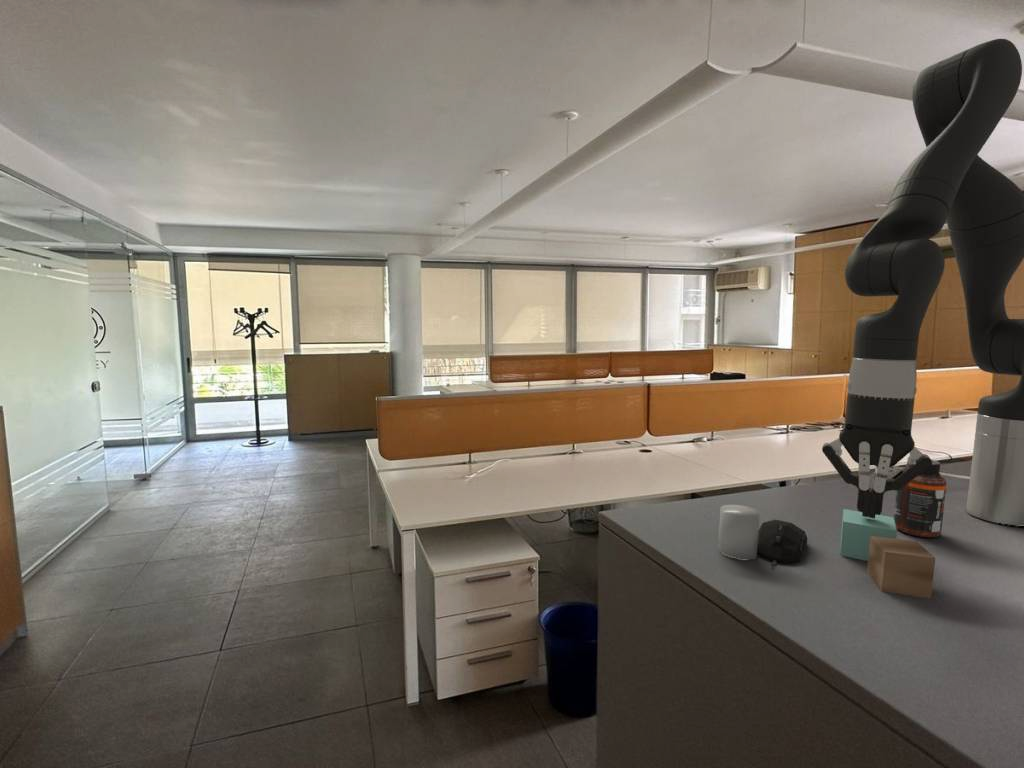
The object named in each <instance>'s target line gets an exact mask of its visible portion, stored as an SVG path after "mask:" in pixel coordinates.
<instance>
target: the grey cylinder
mask: <svg viewBox="0 0 1024 768" xmlns="http://www.w3.org/2000/svg"><path fill="white" fill-rule="evenodd" d="M719 509H720V512H719V529H718V542H717V544H718V545H717V549H718V548H719V550H720V551H721V552H723V553H724V554H727V555H729V556H732V557H736V558H740V559H753V560H756V559H757V557H758V555H757V549H758V534H759V529H760V516H761V512H760V511H759V510H757V509H756V508H753V507H751V506H746V505H742V504H741V505H740V504H724V505H721V506H720V507H719Z"/></svg>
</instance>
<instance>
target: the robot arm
mask: <svg viewBox="0 0 1024 768" xmlns="http://www.w3.org/2000/svg"><path fill="white" fill-rule="evenodd" d="M1022 63H1023V62H1022V58H1021V55H1020V52H1019V50H1018V48H1017V47H1016V45H1015V44H1014V43H1013V42H1012V41H1011V40H1009V39H1006V38H996V39H992V40H989V41H985V42H983V43H979V44H977V45H975V46H972V47H970V48H969V49H965V50H963V51H961V52H959V53H956V54H954V55H951V56H949V57H948V58H945V59H943V60H941V61H937V62H936V63H934V64H930V65H929V66H926V68H923V69H922V70H920V72H919V73H918V74H917V75H916V77H915V78H914V82H913V86H912V93H911V94H912V95H911V97H912V105H913V111H914V115H915V118H916V121H917V124H918V128H919V130H920V133H921V137H922V139H923V142H924V145H925V147H926V148H924V149H923V150H922V151H921V152H920V153H919V155H917V156H916V157H915V158H914V159H913V160H912V161H911V163H910V164H909V165H908V166H907V168H906V169H905V170H904V171H903V173H902V174H901V176H900V177H899V179H898V181H897V182H896V185H895V187H894V189H893V191H892V193H891V195H890V197H889V201H888V203H887V205H886V207H885V210H884V212H883V213H882V215H881V217H879V218H878V220H877V221H875V223H874V224H873V225H872V226H871V228H870V229H869V230H868V231H867V232H866V234H865V235H864V236H863V237H862V238H861V239H860V241H858V243H857V244H856V246H855V247H854V249H853V250H852V251H851V253H850V255H849V257H848V259H847V262H846V265H845V271H844V278H845V279H844V280H845V282H846V283H845V284H846V286H847V288H848V290H849V291H851V292H852V293H853V294H855V295H857V296H860V297H870V298H871V297H890V296H891V297H892V296H895V297H896V296H897V298H896V299H895V301H894V302H893V304H892V306H891V307H890V308H889V309H888V310H885V311H882V312H879V313H878V312H877V313H873V314H868V315H865V316H862V317H860V318H859V320H857V323H856V324H855V325H856V326H855V331H854V340H853V341H854V342H853V350H852V351H853V352H852V353H853V354H852V361H851V366H850V368H849V369H850V370H849V373H848V382H847V385H846V386H847V387H846V388H847V396H846V403H845V405H846V406H845V413H844V414H845V415H844V424H843V425H844V426H843V428H842V430H841V431H840V432H839V435H838V438H837V439H835V440H833V441H831V442H825V443H823V445H822V446H821V450H822V453H823V455H825V458H826V459H827V460H829V461H828V462H829V463H831V466H832V467H834V469H835V470H836V472H837V473H838V474H839V476H840V477H841V478H842V480H843V482H845V483H846V484H848V485H853V486H854V487H856V488H857V490H858V491H857V500H856V508H857V511H858V512H862V516H863V517H868V516H869V518H874V519H875V514H876V515H881V514H882V512H883V503H884V502H883V501H884V494H885V493H886V492H890V491H896V492H897V491H898V490H900V489H901V488H902V487H904V486H905V485H906V484H908V483H909V482H910V481H911V480H913V479H914V478H915V477H917V476H918V475H919V474H920V473H922V472H923V471H924V470H926V469H927V468H928V467H929V466H931V465H932V460H933V459H931V458H930V456H929V455H928V454H925V453H923V452H922V451H920V450H919V449H918V448H916V447H915V440H914V438H913V436H912V427H913V420H914V419H913V418H914V409H915V408H914V406H915V399H916V394H917V392H918V391H917V390H918V389H917V381H918V378H917V357H918V348H919V347H918V346H919V339H920V338H919V337H920V331H921V327H922V325H923V321H924V319H925V317H926V313H927V311H928V308H929V306H930V304H931V301H932V299H933V297H934V295H935V293H936V291H937V289H938V287H939V284H940V282H941V280H942V277H943V274H944V270H945V255H944V251H943V249H942V248H941V246H940V245H939V244H938V243H937V242H935V241H934V240H932V238H934V237H935V236H937V235H938V234H939V233H940V232H941V230H942V229H943V227H944V226H945V224H946V225H947V230H948V233H949V239H950V243H951V246H952V249H953V250H952V251H953V253H954V257H955V260H956V264H957V267H958V272H959V277H960V280H961V285H962V289H963V295H964V303H965V309H966V320H967V329H968V337H969V345H970V352H971V355H972V359H973V361H974V363H975V365H976V366H977V367H978V368H979V370H981V371H983V372H986V373H990V374H995V375H1007V376H1008V375H1010V376H1020V379H1019V383H1017V386H1016V387H1014V388H1012V389H1011V390H1008V391H1005V392H1002V393H1001V392H1000V393H996V394H991V395H985V396H982V397H981V398H980V399H979V401H978V405H977V416H976V425H975V433H974V442H973V448H972V450H973V451H972V459H971V468H970V475H969V477H970V478H969V484H968V493H967V499H966V500H967V501H966V509H965V511H966V513H968V514H969V515H971V516H973V517H975V518H978V519H982V520H985V521H987V522H991V523H995V524H999V523H1001V524H1000V525H1005V524H1009V525H1008V526H1010V525H1024V318H1010V317H1009V316H1008V314H1007V310H1006V306H1005V294H1006V293H1005V292H1006V290H1007V287H1008V285H1009V283H1010V281H1011V280H1012V277H1013V276H1014V274H1015V273H1016V271H1017V270H1018V268H1019V266H1021V263H1022V261H1024V192H1023V190H1022V189H1021V188H1020V187H1019V186H1018V185H1017V184H1016V183H1014V182H1013V181H1012V180H1011V179H1010V178H1009V177H1007V176H1006V175H1005V174H1003V173H1002V172H1001V171H999V170H998V169H996V168H995V167H993V166H992V165H990V164H989V163H988V162H987V161H986V160H984V159H983V158H982V157H981V156H980V155H979V153H980V152H981V150H982V149H983V147H984V145H986V142H988V140H989V139H990V137H991V135H992V134H993V132H994V131H995V129H996V127H997V126H998V125H999V123H1000V121H1001V120H1002V118H1003V117H1004V115H1005V114H1006V112H1007V111H1008V109H1009V107H1010V106H1011V104H1012V102H1013V101H1014V99H1015V97H1016V96H1017V92H1018V90H1019V88H1020V86H1021V80H1022V75H1023V64H1022ZM842 446H843V448H844V449H845V451H846V452H847V453H848V454H849V456H850V458H851V459H852V460H853V461H854V462H855V463H856V464H858V466H857V467H858V474H856V473H853V471H852V470H851V469H850V468H849V466H848V465H847V463H846V462H845V460H844V459H843V457H841V456H842V455H843V450H842ZM907 455H909V456H908V457H907V460H906V461H908V463H909V464H908V465H907V464H906V465H907V466H904V467H903V468H902V469H900V470H899V471H898V472H897V473H896V474H894V475H892V476H891V478H888V476H889V472H890V471H889V470H890V468H891V467H894V466H896V465H897V464H898V463H899V462H900V461H902V459H904V458H905V457H906V456H907ZM871 466H875V469H874V475H873V481H872V487H871V485H870V472H871V471H870V470H871V469H870V467H871Z"/></svg>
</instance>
